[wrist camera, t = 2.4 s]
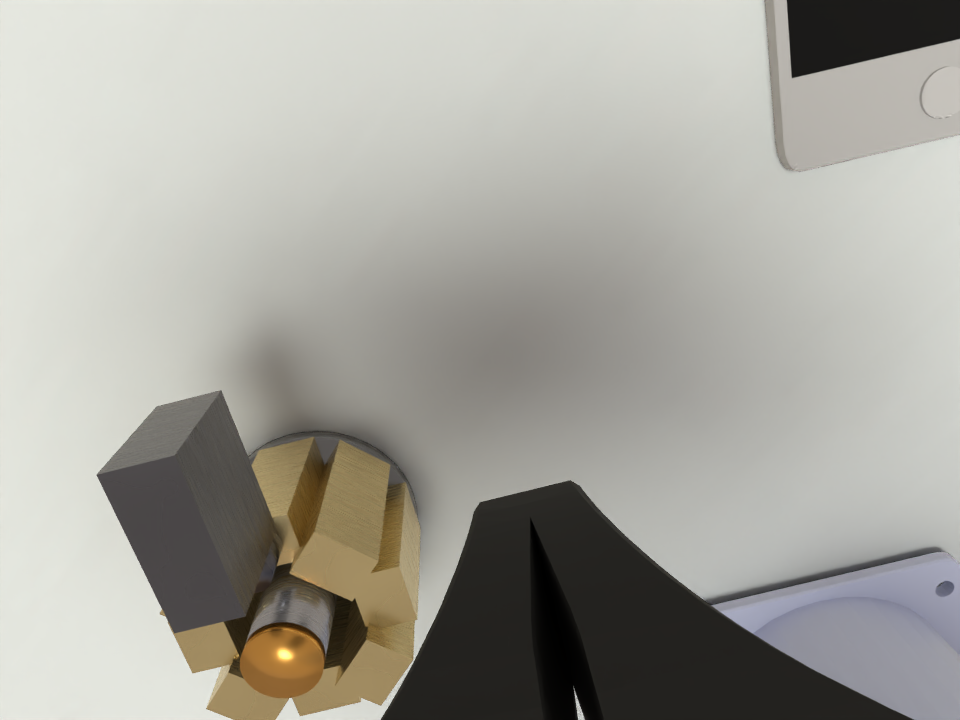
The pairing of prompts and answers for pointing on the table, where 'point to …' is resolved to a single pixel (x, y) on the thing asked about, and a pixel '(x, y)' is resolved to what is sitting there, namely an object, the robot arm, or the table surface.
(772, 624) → the robot arm
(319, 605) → the base
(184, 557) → the ring nut
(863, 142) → the smartphone
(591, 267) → the table surface
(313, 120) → the table surface
